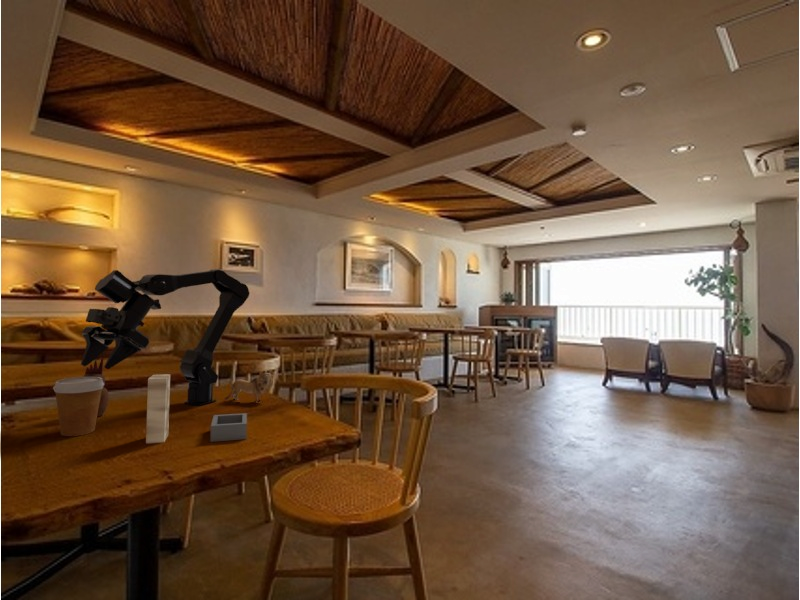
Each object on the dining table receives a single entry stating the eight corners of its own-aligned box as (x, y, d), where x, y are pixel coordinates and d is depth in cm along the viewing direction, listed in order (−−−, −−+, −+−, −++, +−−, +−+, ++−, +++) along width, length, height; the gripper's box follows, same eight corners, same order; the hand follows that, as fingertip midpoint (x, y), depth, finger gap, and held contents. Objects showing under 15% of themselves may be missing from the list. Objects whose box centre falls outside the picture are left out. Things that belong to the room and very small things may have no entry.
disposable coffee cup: (62, 441, 92) (63, 386, 92) (44, 433, 97) (45, 380, 97) (110, 430, 100) (112, 379, 100) (92, 423, 105) (93, 374, 105)
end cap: (213, 429, 103) (213, 415, 103) (246, 427, 106) (246, 413, 106) (210, 441, 95) (210, 425, 95) (246, 439, 97) (246, 423, 97)
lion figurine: (274, 400, 134) (275, 371, 134) (270, 404, 129) (271, 374, 129) (227, 399, 134) (228, 370, 134) (220, 403, 128) (221, 373, 128)
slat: (150, 436, 97) (152, 374, 97) (168, 435, 98) (170, 374, 98) (146, 443, 92) (148, 378, 92) (164, 442, 94) (166, 378, 94)
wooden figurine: (113, 413, 114) (114, 357, 114) (95, 419, 108) (97, 360, 108) (89, 412, 115) (91, 356, 115) (71, 418, 109) (72, 359, 109)
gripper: (84, 295, 110) (41, 347, 101) (131, 295, 102) (88, 352, 93) (119, 319, 118) (82, 370, 109) (165, 321, 110) (129, 376, 102)
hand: (94, 367), depth 103 cm, fingers open, 9 cm apart
